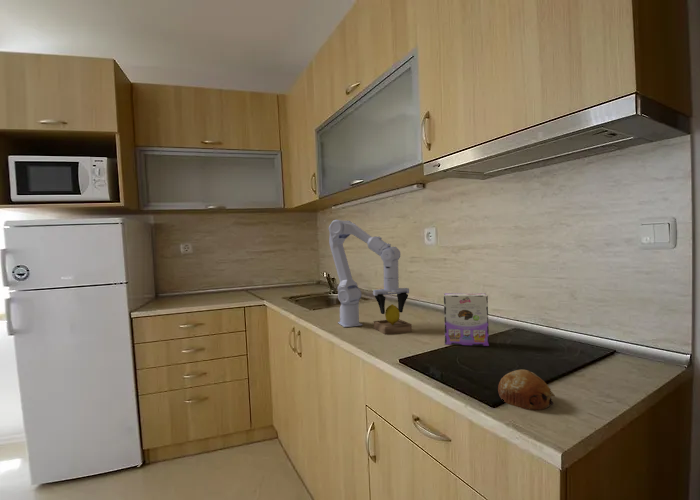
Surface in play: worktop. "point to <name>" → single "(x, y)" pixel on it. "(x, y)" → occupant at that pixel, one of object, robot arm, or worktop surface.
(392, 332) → the base
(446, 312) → the candy box
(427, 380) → the worktop surface
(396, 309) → the lemon
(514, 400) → the reddish brown rounded lump
